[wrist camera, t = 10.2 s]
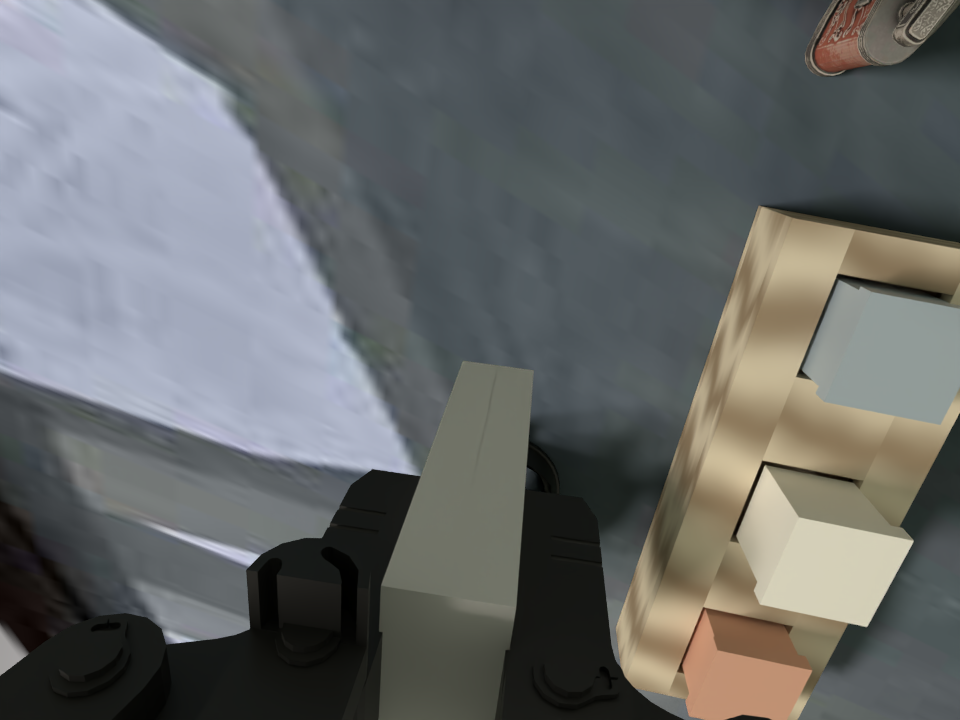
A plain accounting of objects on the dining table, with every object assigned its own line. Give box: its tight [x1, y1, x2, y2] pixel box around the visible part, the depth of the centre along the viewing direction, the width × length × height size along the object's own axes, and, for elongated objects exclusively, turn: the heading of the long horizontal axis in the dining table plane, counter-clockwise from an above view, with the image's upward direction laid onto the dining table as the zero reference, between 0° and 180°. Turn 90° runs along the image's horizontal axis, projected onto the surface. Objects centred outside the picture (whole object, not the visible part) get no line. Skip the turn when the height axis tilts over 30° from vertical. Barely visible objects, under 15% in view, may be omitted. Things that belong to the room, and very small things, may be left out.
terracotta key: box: [681, 607, 813, 720], centre depth 46 cm, size 7×7×6 cm
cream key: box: [736, 465, 914, 627], centre depth 39 cm, size 7×7×6 cm
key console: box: [616, 206, 960, 720], centre depth 44 cm, size 38×14×6 cm, turn 170°
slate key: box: [800, 274, 960, 425], centre depth 36 cm, size 7×7×6 cm
